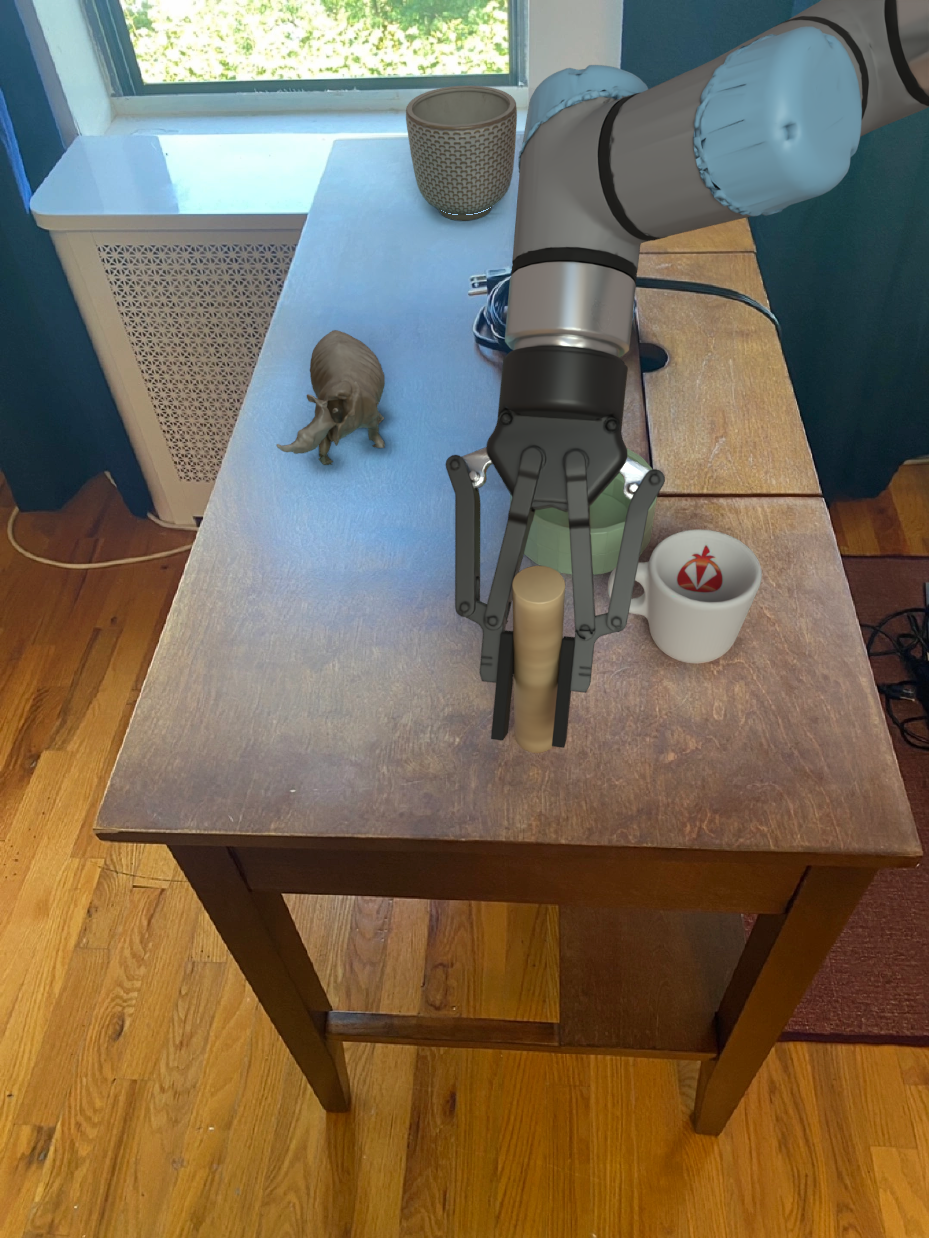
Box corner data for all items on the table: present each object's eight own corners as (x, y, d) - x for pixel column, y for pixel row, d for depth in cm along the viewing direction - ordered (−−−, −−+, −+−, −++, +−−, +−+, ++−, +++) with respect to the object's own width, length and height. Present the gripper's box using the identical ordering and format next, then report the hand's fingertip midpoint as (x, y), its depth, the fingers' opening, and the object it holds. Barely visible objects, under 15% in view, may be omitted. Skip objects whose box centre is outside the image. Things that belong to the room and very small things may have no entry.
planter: (413, 190, 128) (404, 88, 118) (512, 183, 128) (511, 81, 118) (414, 237, 119) (405, 131, 109) (522, 229, 119) (522, 122, 109)
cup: (596, 662, 71) (603, 591, 65) (610, 588, 76) (618, 516, 70) (740, 685, 69) (760, 613, 63) (744, 607, 74) (764, 535, 68)
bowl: (677, 556, 78) (686, 507, 74) (547, 599, 75) (548, 551, 71) (609, 472, 86) (614, 424, 82) (489, 509, 83) (487, 461, 79)
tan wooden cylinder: (565, 744, 62) (574, 593, 51) (525, 759, 62) (525, 609, 51) (546, 711, 64) (551, 559, 53) (507, 726, 64) (503, 574, 53)
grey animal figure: (408, 359, 95) (365, 293, 80) (403, 488, 94) (359, 445, 79) (336, 362, 97) (282, 298, 82) (330, 489, 95) (274, 448, 81)
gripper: (696, 376, 58) (658, 743, 59) (446, 362, 60) (415, 715, 62) (708, 347, 50) (664, 768, 52) (422, 333, 53) (388, 734, 54)
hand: (529, 738), depth 57 cm, fingers closed on tan wooden cylinder, 3 cm apart
